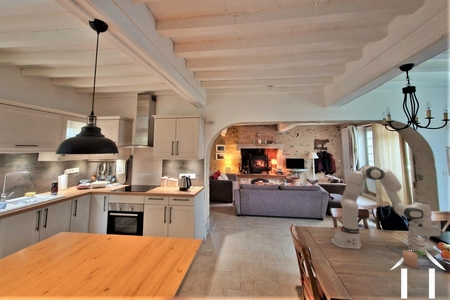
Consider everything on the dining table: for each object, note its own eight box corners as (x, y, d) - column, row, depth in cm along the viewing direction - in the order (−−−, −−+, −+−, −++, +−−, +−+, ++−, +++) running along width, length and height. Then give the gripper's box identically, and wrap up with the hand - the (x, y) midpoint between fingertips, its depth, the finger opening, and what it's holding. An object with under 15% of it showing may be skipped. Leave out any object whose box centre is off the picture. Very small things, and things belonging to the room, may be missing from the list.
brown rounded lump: (410, 267, 117) (409, 255, 118) (400, 261, 124) (399, 250, 125) (421, 267, 117) (420, 255, 117) (410, 261, 124) (409, 250, 124)
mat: (405, 257, 128) (405, 257, 128) (386, 247, 144) (386, 246, 144) (424, 258, 127) (424, 257, 127) (403, 247, 143) (403, 246, 143)
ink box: (426, 255, 131) (425, 239, 132) (419, 255, 131) (418, 239, 132) (414, 249, 139) (413, 234, 140) (408, 249, 140) (406, 234, 140)
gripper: (433, 221, 139) (435, 239, 138) (406, 221, 140) (407, 239, 139) (442, 224, 132) (444, 243, 132) (414, 224, 134) (415, 243, 133)
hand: (425, 241), depth 135 cm, fingers closed
